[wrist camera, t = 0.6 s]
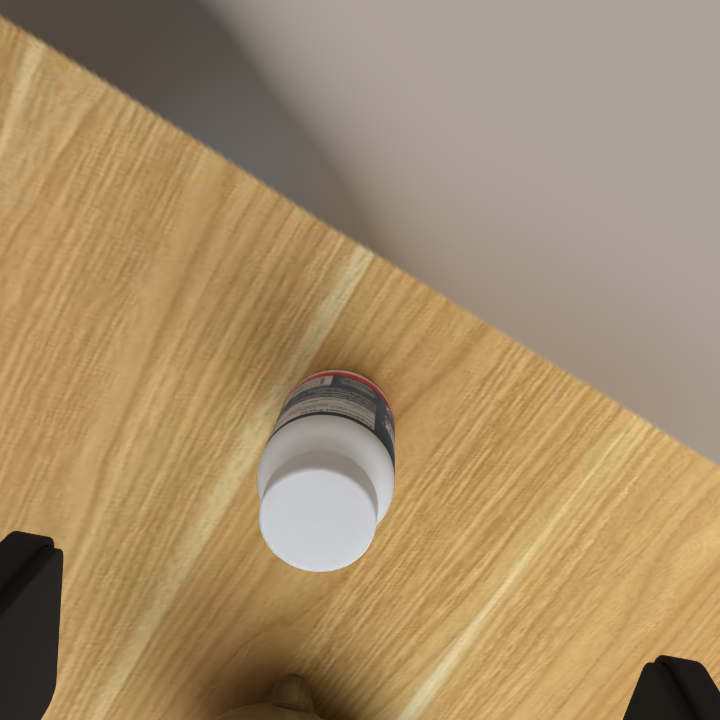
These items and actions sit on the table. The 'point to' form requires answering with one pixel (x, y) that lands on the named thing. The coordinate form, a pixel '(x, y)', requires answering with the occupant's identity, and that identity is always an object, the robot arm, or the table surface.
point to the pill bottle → (327, 471)
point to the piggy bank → (279, 704)
